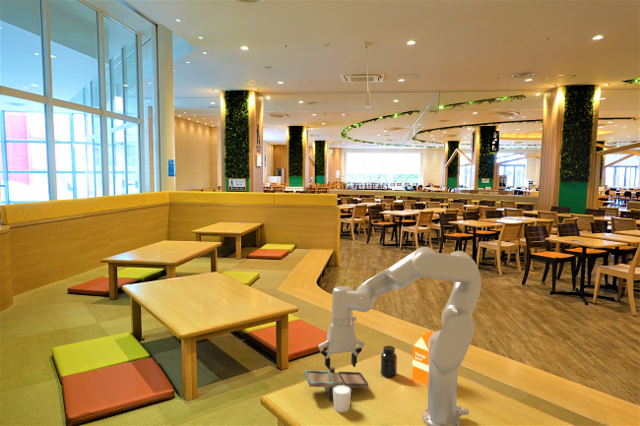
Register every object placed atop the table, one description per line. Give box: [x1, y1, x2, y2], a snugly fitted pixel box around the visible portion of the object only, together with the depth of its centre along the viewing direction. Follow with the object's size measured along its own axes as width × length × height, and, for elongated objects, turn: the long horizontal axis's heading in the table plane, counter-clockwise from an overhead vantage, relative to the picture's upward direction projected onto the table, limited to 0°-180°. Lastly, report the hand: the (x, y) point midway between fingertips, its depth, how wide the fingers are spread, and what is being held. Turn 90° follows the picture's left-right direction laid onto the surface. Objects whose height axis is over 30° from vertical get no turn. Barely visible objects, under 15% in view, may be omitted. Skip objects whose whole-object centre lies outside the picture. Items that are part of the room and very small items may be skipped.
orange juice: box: [412, 330, 434, 386], centre depth 163 cm, size 8×9×20 cm
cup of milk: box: [333, 385, 352, 413], centre depth 142 cm, size 7×7×7 cm
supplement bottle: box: [380, 345, 398, 379], centre depth 167 cm, size 7×7×12 cm
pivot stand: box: [323, 366, 352, 403], centre depth 154 cm, size 8×15×6 cm, turn 13°
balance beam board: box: [304, 369, 369, 389], centre depth 153 cm, size 24×10×2 cm, turn 103°
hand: (340, 366), depth 141 cm, fingers open, 9 cm apart
